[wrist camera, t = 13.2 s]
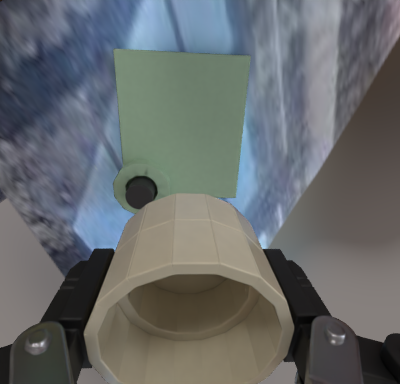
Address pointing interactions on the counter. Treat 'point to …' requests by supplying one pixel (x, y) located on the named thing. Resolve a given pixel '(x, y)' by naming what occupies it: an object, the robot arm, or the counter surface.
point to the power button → (140, 192)
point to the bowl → (188, 300)
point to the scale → (180, 121)
